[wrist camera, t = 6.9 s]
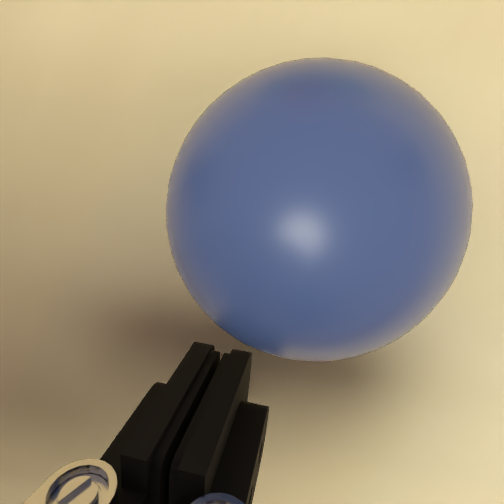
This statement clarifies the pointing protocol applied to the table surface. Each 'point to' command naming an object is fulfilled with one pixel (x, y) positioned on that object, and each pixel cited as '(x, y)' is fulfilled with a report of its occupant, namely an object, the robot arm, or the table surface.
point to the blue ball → (319, 209)
